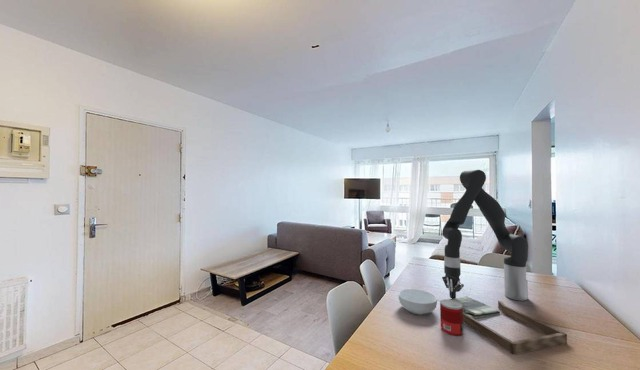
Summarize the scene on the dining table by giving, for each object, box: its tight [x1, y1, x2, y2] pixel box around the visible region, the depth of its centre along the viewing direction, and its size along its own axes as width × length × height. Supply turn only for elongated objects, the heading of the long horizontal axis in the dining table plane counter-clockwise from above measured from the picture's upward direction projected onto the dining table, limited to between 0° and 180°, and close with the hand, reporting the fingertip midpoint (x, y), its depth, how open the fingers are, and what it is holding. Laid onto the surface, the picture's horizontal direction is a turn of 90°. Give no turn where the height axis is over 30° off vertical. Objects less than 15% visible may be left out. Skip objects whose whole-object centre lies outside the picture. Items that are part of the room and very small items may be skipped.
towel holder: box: [463, 300, 568, 355], centre depth 100 cm, size 30×28×4 cm
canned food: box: [439, 298, 464, 337], centre depth 98 cm, size 8×8×11 cm
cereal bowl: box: [398, 288, 438, 315], centre depth 114 cm, size 17×17×7 cm
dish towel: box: [448, 296, 501, 320], centre depth 116 cm, size 19×18×3 cm
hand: (452, 298), depth 126 cm, fingers closed
